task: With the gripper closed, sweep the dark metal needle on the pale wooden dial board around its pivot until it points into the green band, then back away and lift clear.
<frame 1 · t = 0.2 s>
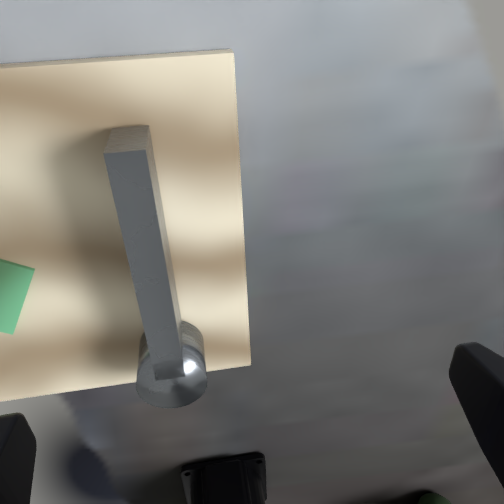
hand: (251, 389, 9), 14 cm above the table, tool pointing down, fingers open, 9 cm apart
needle: (156, 285, 21), point 3 cm above the table, hinge at 0.0°
dial board: (76, 251, 22), on the table
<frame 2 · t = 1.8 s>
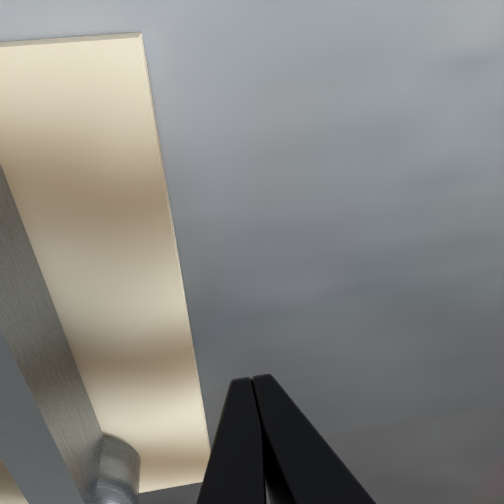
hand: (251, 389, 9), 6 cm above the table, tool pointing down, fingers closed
needle: (43, 409, 13), point 3 cm above the table, hinge at 0.0°
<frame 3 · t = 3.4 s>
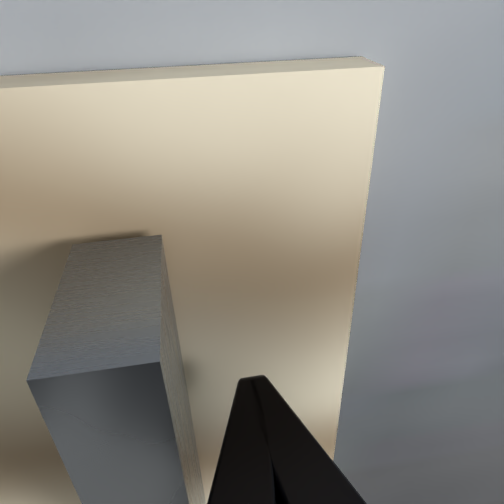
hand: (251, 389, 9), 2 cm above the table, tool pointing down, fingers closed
dial board: (17, 439, 12), on the table
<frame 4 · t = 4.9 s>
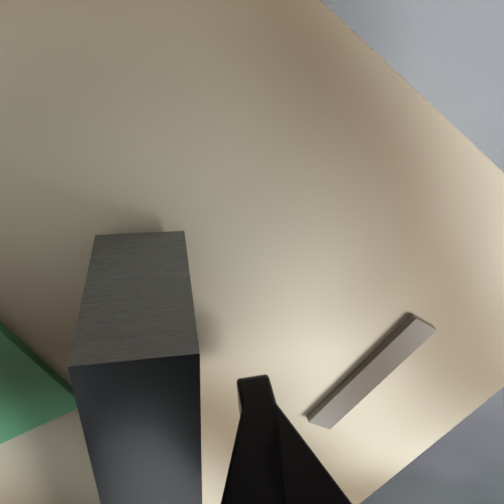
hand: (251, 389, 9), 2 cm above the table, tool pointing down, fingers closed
dial board: (158, 384, 12), on the table
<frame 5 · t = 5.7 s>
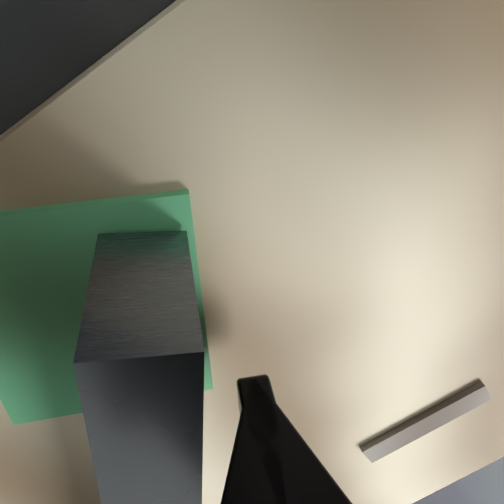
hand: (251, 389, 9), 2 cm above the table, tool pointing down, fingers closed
dial board: (248, 385, 12), on the table
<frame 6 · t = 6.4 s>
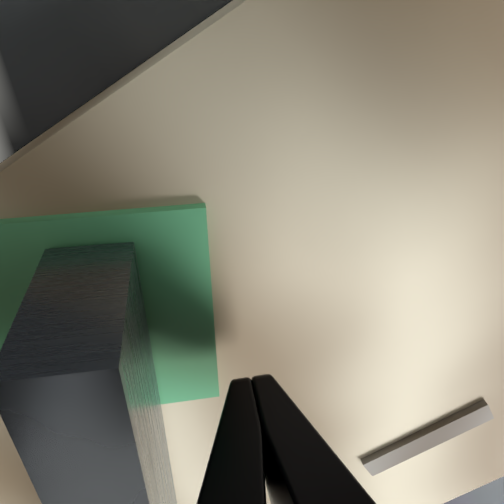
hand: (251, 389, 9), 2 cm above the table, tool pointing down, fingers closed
dial board: (252, 393, 12), on the table
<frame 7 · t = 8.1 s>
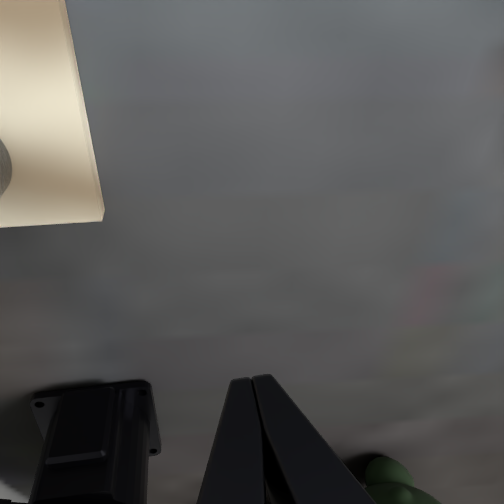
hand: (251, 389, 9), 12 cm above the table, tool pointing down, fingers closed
toy figurine: (309, 498, 36), on the table
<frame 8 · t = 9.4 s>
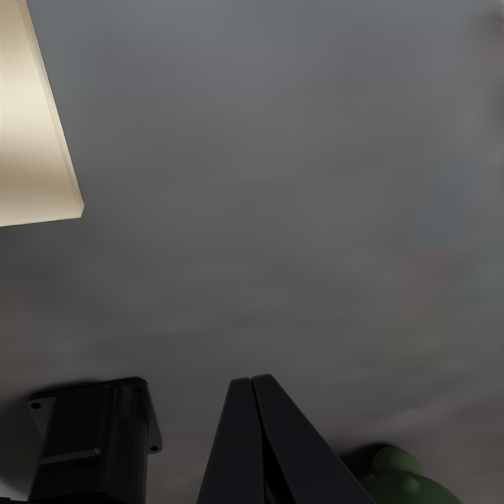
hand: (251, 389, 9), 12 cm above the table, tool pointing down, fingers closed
toy figurine: (318, 491, 35), on the table
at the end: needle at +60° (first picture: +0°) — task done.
